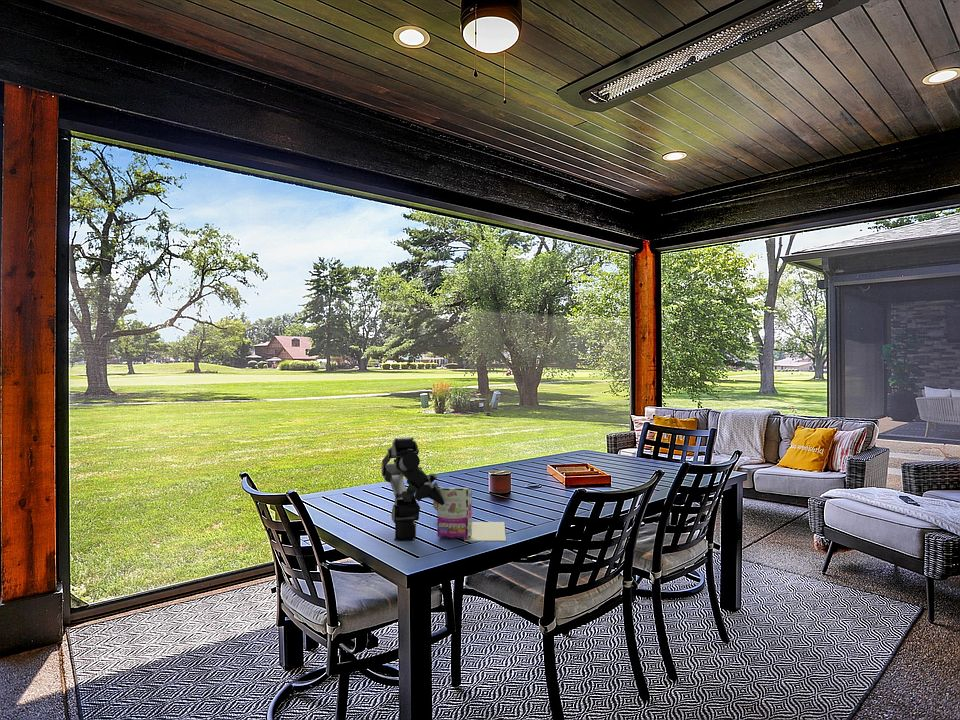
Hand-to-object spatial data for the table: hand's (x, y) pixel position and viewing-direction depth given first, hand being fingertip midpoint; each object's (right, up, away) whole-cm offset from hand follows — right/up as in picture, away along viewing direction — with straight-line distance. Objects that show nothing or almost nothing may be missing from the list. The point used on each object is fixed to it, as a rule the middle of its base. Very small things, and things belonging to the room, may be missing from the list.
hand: (443, 504), depth 194 cm
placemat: (+14, -12, +9) cm, 21 cm away
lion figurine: (+1, -12, +22) cm, 25 cm away
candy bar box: (+4, -12, +1) cm, 12 cm away
